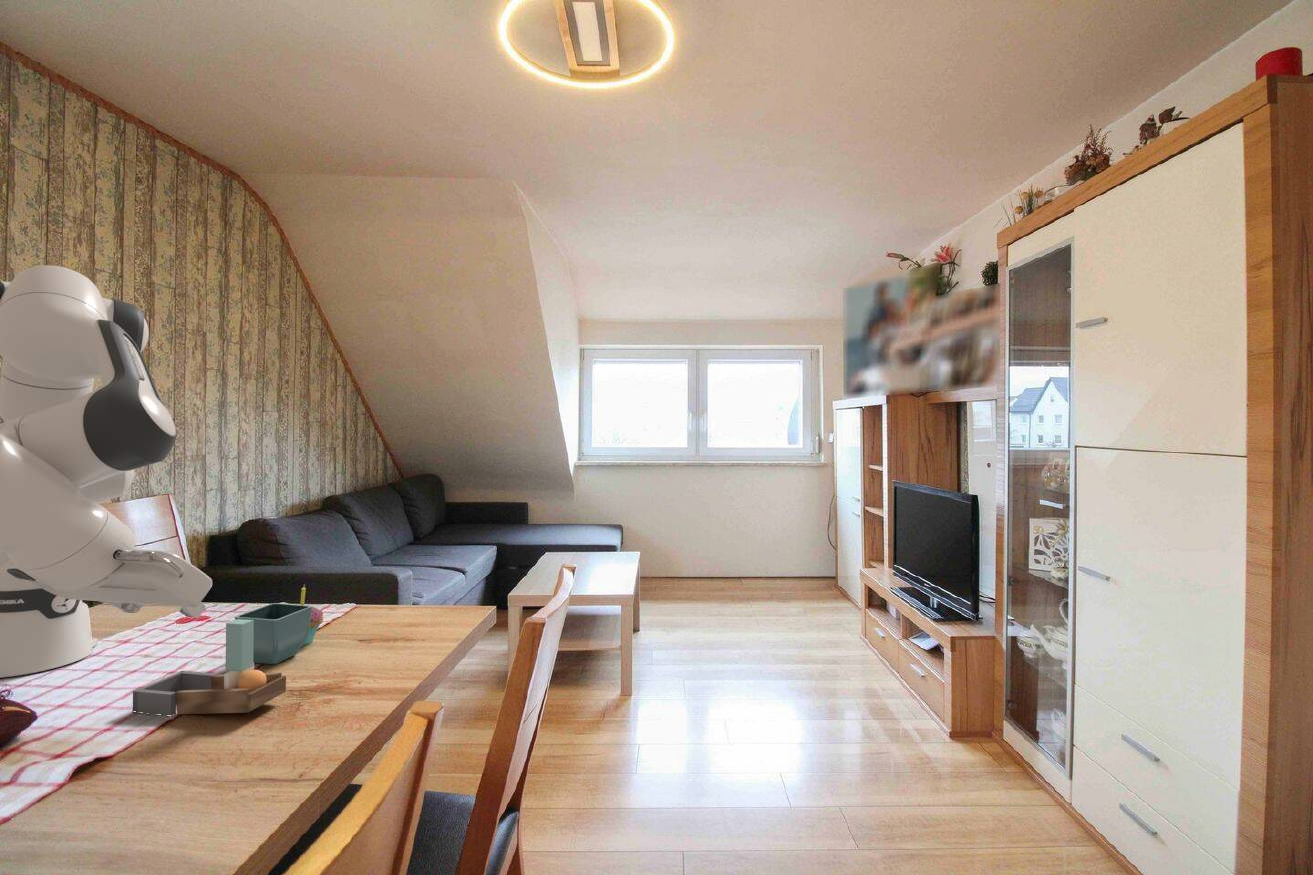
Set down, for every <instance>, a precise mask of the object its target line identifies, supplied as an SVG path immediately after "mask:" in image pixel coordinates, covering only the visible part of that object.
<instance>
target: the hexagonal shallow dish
mask: <svg viewBox="0 0 1313 875" xmlns="http://www.w3.org/2000/svg"><path fill="white" fill-rule="evenodd" d="M263 673H264V674H265V675H266V678H267V681H266V685H264V686H262V687H260V688H258V689H256V690H254V691H252V692H251V689H250V688H242V689H224V674H218V675H213V676H211V687H212V689H210V690H180V691H178V692H175V695H176V714H177V715H195V714H200V715H201V714H202V715H203V714H240V713H241V714H243V713H250V712H252V711H253V710H256V709H257V708H259V707H261V706H262V705H264V704H266V703H268V702H270V701H272V700H273V699H275V698H277V697H279V696H281V695H283V694H284V693H286V692H287V691H286V690H287V675H283V674H282V672H263Z"/></svg>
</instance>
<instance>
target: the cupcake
mask: <svg viewBox="0 0 1313 875" xmlns="http://www.w3.org/2000/svg"><path fill="white" fill-rule="evenodd" d="M302 586H303V587H302V588H301V592H300V601H299V602H300V604H299V605H305V598H306V591H307V590H306V584H305V583H304V584H303V585H302ZM323 622H324V615H323V611H322V610H321V609H319V608H317V607H315V606H312V611H311V618H310V625H309V630H308V634H307V637H306V639H305V641H304V643H303V645H302V646H307V645H308V644H311V643H312V642H313V641H314V639H315V635H316V633H317V631H318V629H319V627H320V625H322V624H323ZM302 646H301V647H302Z"/></svg>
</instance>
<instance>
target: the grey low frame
mask: <svg viewBox="0 0 1313 875" xmlns="http://www.w3.org/2000/svg"><path fill="white" fill-rule="evenodd" d="M213 675H219V674H218V673H215V672H214V673H213V672H203V671H202V672H200V671H191V670H190V671H189V670H181V671H178V672H176V673H173V674H171V675H169V676H166V677H164V678H161V679H159V680H157V681H154V682H152V683H149V684H147V685H145V686H144V685H143V686H142V687H139V688H138V689H135V690H133V691H132V712H133V711H136V712H143V713H149V714H148V715H151V714H161V715H173V714H175V715H176V714H177V707H176V695H175V692H178V691H180V690H210V689H212V687H211V676H213ZM161 715H160V716H161ZM173 716H174V715H173Z"/></svg>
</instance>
